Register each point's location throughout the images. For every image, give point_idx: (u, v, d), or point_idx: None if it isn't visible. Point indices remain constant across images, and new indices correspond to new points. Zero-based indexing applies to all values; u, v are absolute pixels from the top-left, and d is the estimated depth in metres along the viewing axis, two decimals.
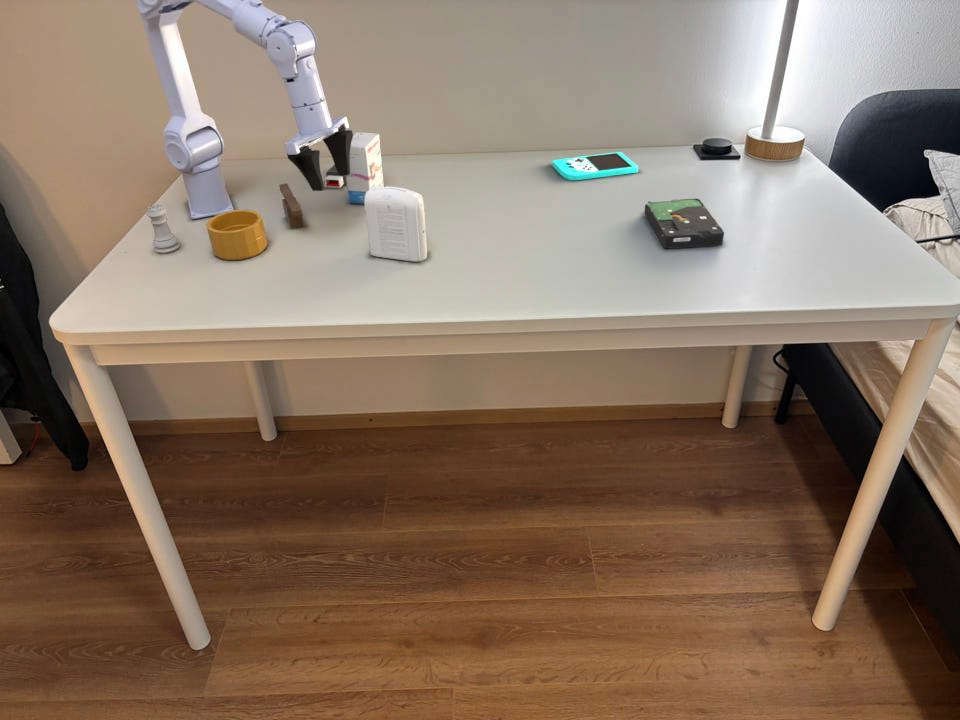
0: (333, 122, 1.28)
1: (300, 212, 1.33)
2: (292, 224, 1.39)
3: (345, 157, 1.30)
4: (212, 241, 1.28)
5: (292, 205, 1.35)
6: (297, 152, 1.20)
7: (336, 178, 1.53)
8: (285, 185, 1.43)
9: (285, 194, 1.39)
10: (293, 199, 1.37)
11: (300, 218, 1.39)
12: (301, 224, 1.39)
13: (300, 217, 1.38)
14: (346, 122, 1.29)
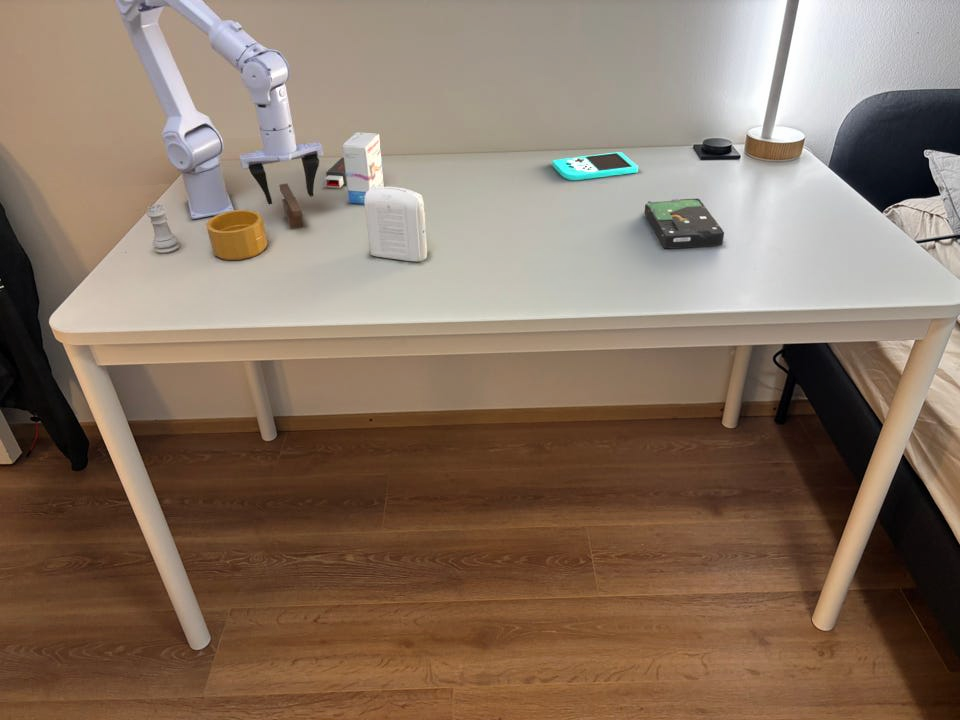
0: (305, 147, 1.34)
1: (300, 212, 1.33)
2: (292, 224, 1.39)
3: (308, 181, 1.37)
4: (212, 241, 1.28)
5: (292, 205, 1.35)
6: (244, 168, 1.31)
7: (336, 178, 1.53)
8: (285, 185, 1.43)
9: (285, 194, 1.39)
10: (293, 199, 1.37)
11: (300, 218, 1.39)
12: (301, 224, 1.39)
13: (300, 217, 1.38)
14: (320, 150, 1.35)
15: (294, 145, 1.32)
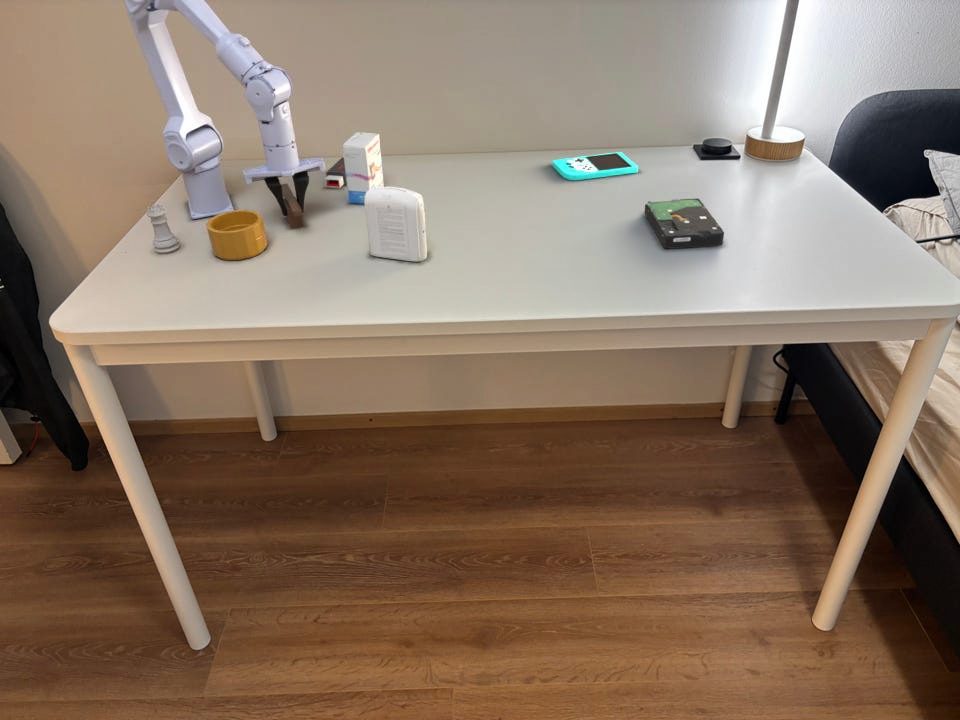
0: (308, 162, 1.36)
1: (300, 212, 1.33)
2: (292, 224, 1.39)
3: (298, 198, 1.38)
4: (212, 241, 1.28)
5: (292, 205, 1.35)
6: (248, 183, 1.33)
7: (336, 178, 1.53)
8: (285, 185, 1.43)
9: (285, 194, 1.39)
10: (293, 199, 1.37)
11: (300, 218, 1.39)
12: (301, 224, 1.39)
13: (301, 217, 1.39)
14: (322, 165, 1.36)
15: (297, 161, 1.34)
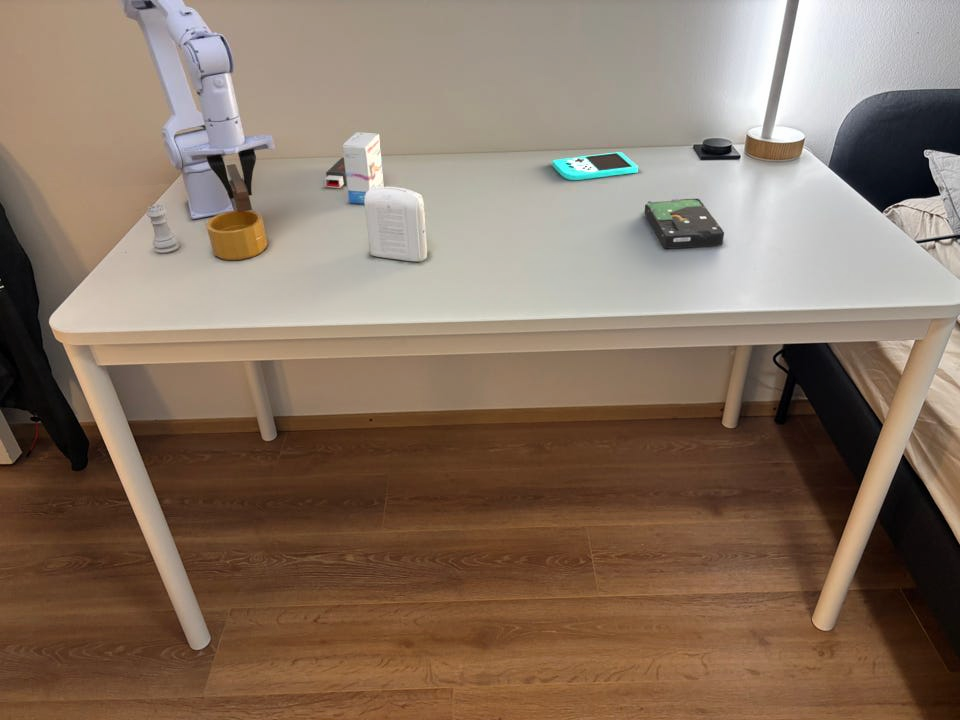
0: (254, 140, 1.25)
1: (245, 193, 1.22)
2: (239, 207, 1.27)
3: (245, 179, 1.26)
4: (212, 241, 1.28)
5: (237, 186, 1.24)
6: (188, 162, 1.22)
7: (336, 178, 1.53)
8: (232, 165, 1.31)
9: (231, 175, 1.28)
10: (239, 180, 1.26)
11: (248, 201, 1.27)
12: (249, 207, 1.28)
13: (248, 200, 1.27)
14: (271, 143, 1.25)
15: (241, 137, 1.22)
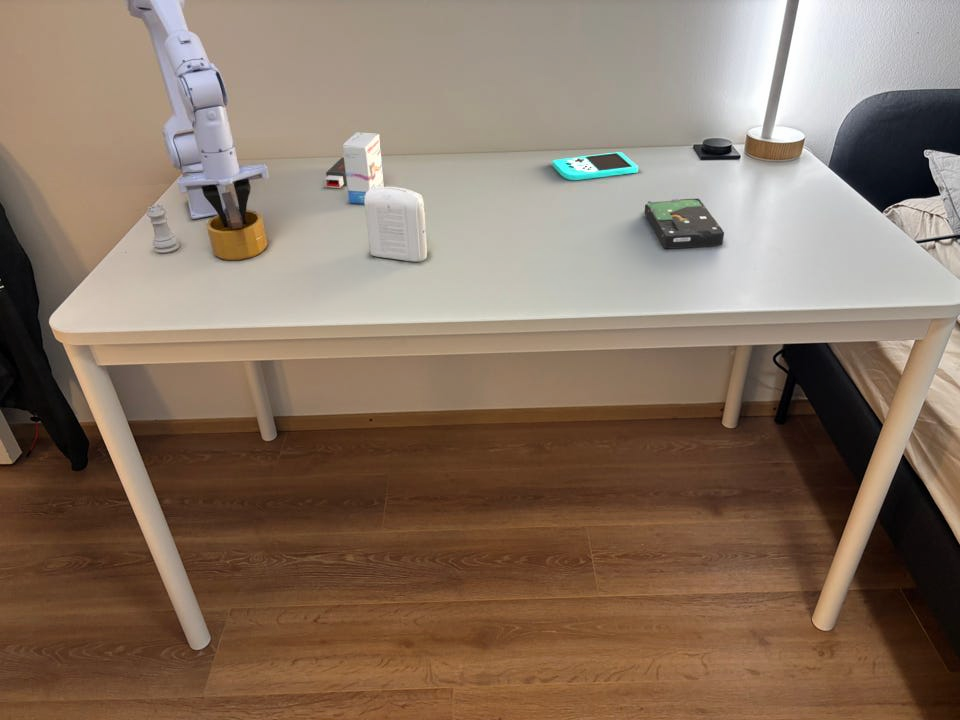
0: (249, 169, 1.26)
1: (240, 223, 1.23)
2: None
3: (240, 208, 1.27)
4: (212, 241, 1.28)
5: (231, 215, 1.25)
6: (182, 192, 1.23)
7: (336, 178, 1.53)
8: (227, 193, 1.32)
9: (226, 204, 1.29)
10: (234, 209, 1.27)
11: None
12: None
13: None
14: (265, 173, 1.26)
15: (236, 168, 1.23)
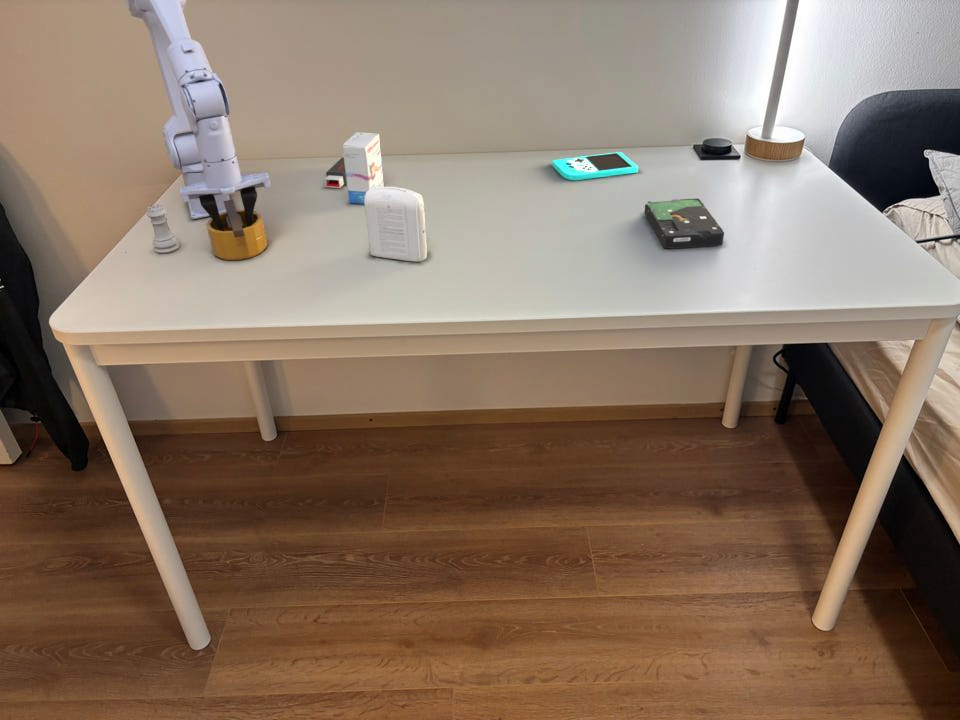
0: (251, 178, 1.26)
1: (242, 232, 1.24)
2: None
3: (246, 215, 1.28)
4: (212, 241, 1.28)
5: (233, 223, 1.25)
6: (185, 201, 1.23)
7: (336, 178, 1.53)
8: (229, 201, 1.33)
9: (228, 211, 1.30)
10: (236, 217, 1.28)
11: None
12: None
13: None
14: (267, 181, 1.27)
15: (238, 177, 1.24)
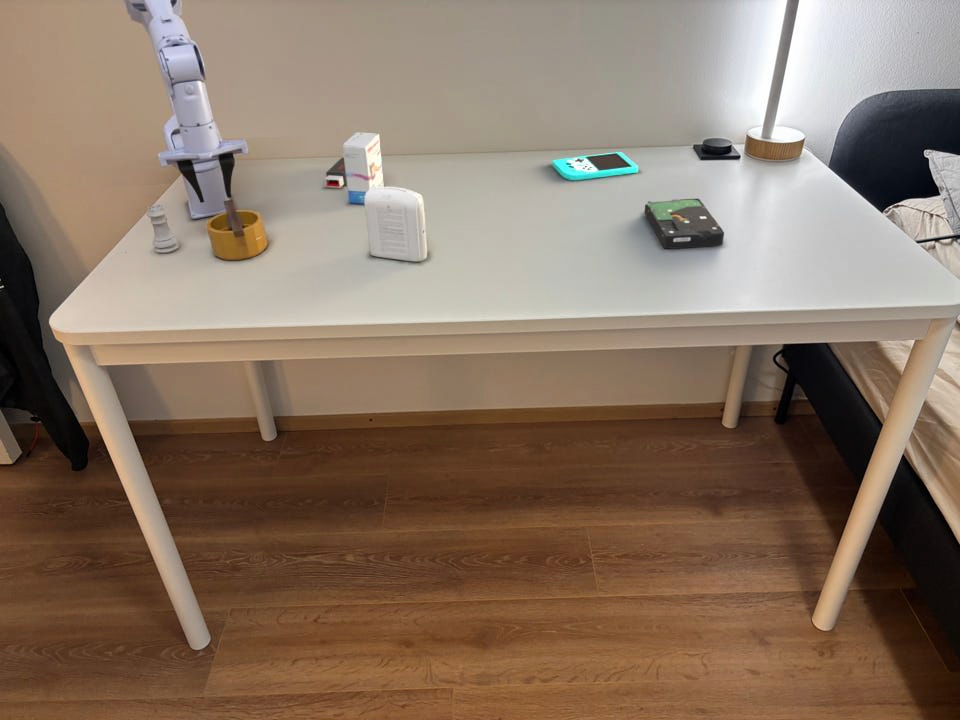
0: (229, 144, 1.28)
1: (242, 232, 1.24)
2: None
3: (224, 181, 1.30)
4: (212, 241, 1.28)
5: (233, 223, 1.25)
6: (163, 166, 1.25)
7: (336, 178, 1.53)
8: (229, 201, 1.33)
9: (228, 211, 1.30)
10: (236, 217, 1.28)
11: None
12: None
13: None
14: (245, 148, 1.28)
15: (216, 142, 1.26)
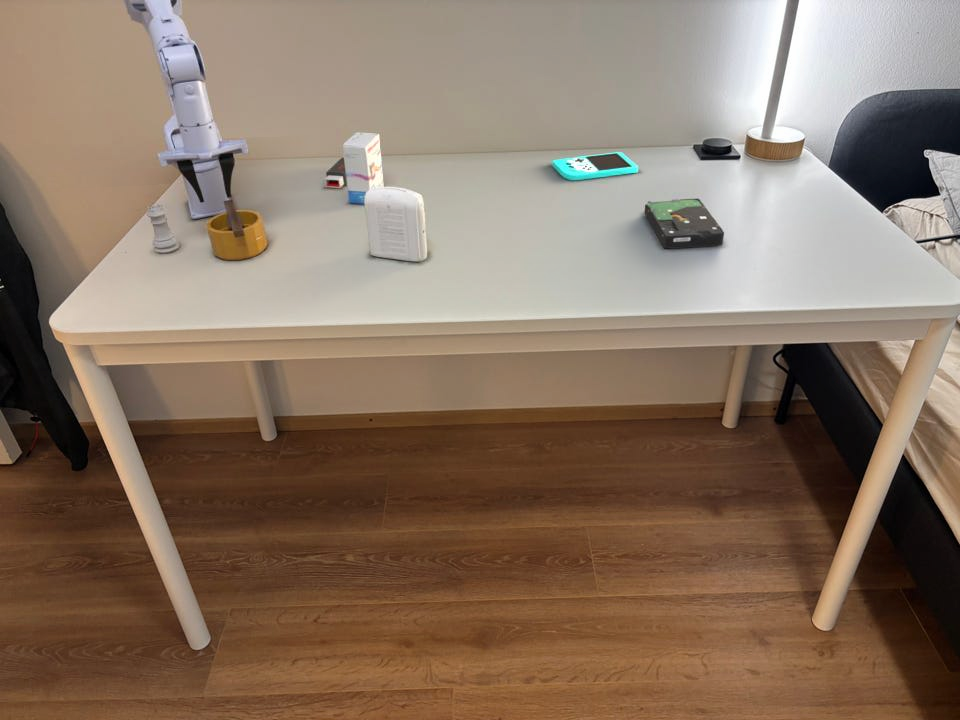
0: (229, 144, 1.28)
1: (242, 232, 1.24)
2: None
3: (224, 181, 1.30)
4: (212, 241, 1.28)
5: (233, 223, 1.25)
6: (163, 166, 1.25)
7: (336, 178, 1.53)
8: (229, 201, 1.33)
9: (228, 211, 1.30)
10: (236, 217, 1.28)
11: None
12: None
13: None
14: (245, 148, 1.28)
15: (216, 142, 1.26)
